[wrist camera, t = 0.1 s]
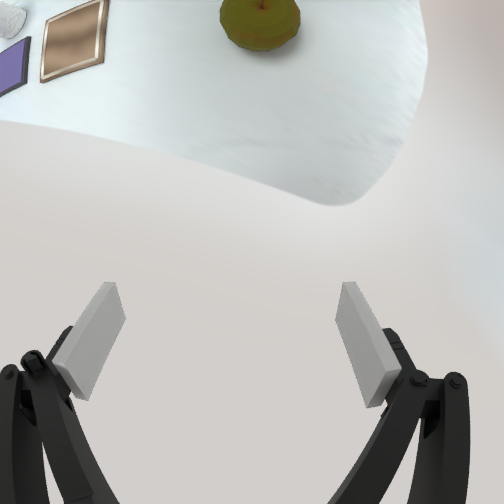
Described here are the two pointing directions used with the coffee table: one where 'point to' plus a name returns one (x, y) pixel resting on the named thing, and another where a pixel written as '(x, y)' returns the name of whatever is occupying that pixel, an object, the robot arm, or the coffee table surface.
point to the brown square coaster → (74, 40)
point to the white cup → (10, 20)
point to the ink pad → (14, 66)
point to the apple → (260, 22)
